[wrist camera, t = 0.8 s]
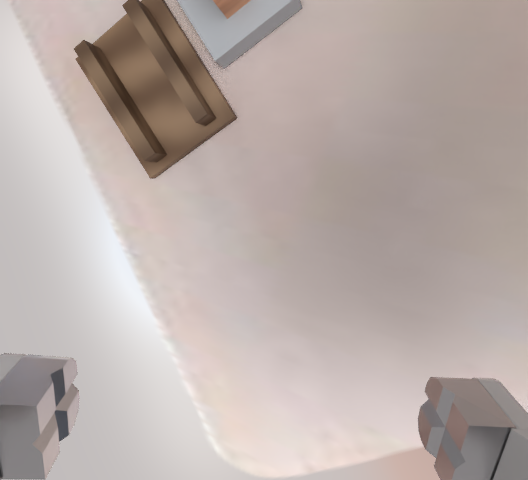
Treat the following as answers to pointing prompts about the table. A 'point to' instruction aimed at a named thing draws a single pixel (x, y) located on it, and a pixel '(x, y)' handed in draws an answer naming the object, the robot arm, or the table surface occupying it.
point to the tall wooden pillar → (230, 6)
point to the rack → (154, 85)
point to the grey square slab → (236, 25)
